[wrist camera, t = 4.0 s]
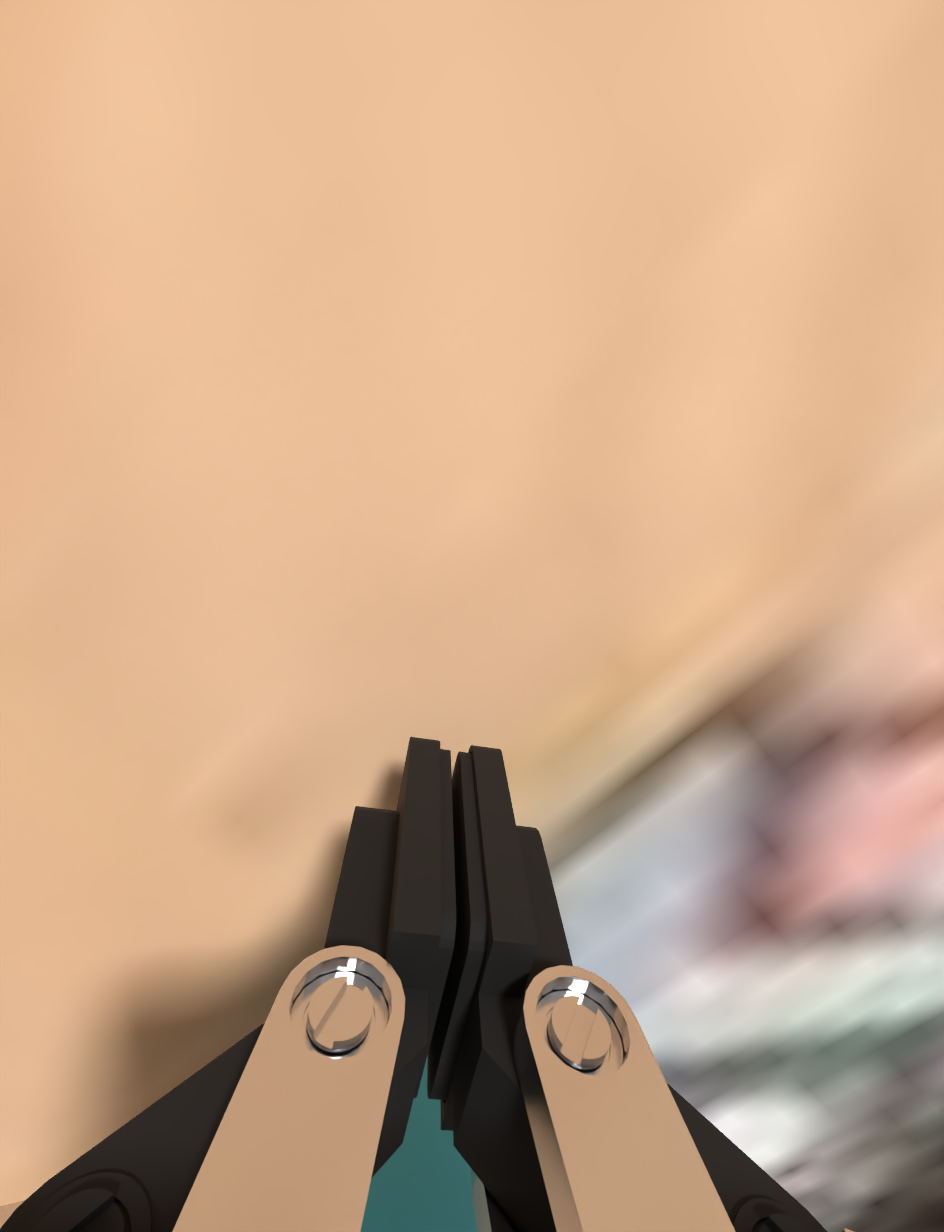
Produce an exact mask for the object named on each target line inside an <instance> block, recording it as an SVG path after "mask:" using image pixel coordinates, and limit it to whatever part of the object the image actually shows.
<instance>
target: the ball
mask: <svg viewBox="0 0 944 1232" xmlns="http://www.w3.org/2000/svg"><path fill="white" fill-rule="evenodd" d="M427 1065H428V1055H427V1059H426V1063H425V1067H424V1071H423V1075H422V1079H421V1083H420V1087H419V1091H418V1095H417V1098H414V1099H413V1103H412V1107H411V1112H410V1116H409V1120H408V1124H407V1128H406V1132H405V1136H404V1140H403V1143H402V1144H401V1146H400V1147H399V1148H398V1149H397V1150H396V1151H395V1152H394V1154H393V1155H392V1156H391V1157H390V1158H389V1159H388V1160H387V1162H386V1163H385V1164H384V1165H383V1166H382V1167H381V1168H380V1169H379V1171H378V1172H377V1173H376V1174H375V1175H374V1176H373V1177H372V1179H371V1182H370V1187H369V1192H368V1197H367V1202H366V1207H365V1211H364V1216H363V1221H362V1226H361V1231H360V1232H478V1231H477V1224H476V1217H475V1211H474V1204H473V1198H472V1186H471V1168H470V1166H469V1165H468V1164H467V1162H466V1161H465V1160H464V1159H463V1157H462V1156H461V1155H460V1153H459V1152H458V1151H457V1149H456V1148H455V1147H454V1146H453V1131H449V1130H441V1100H435V1099H428V1095H427Z"/></svg>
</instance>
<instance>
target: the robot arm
mask: <svg viewBox="0 0 944 1232" xmlns="http://www.w3.org/2000/svg"><path fill="white" fill-rule="evenodd" d="M427 1055H428V1065H427V1095H428V1099H435V1100H441V1130H449V1131H453V1146H454V1147H455V1148H456V1149H457V1151H458V1152H459V1153H460V1155H461V1156H462V1157H463V1159H464V1160H465V1161H466V1162H467V1164H468V1165H469V1166H470V1168H471V1186H472V1198H473V1204H474V1211H475V1217H476V1224H477V1231H478V1232H827V1231H826V1230H825V1229H824V1228H823V1227H822V1225H821V1224H820V1223H819V1222H818V1221H817V1220H816V1219H815V1218H814V1217H813V1216H812V1215H811V1214H810V1213H809V1212H808V1210H807V1209H805V1208H804V1207H803V1206H802V1205H801V1204H800V1203H799V1202H798V1201H797V1200H796V1199H794V1198H793V1197H792V1196H791V1195H790V1194H789V1193H788V1192H787V1191H786V1190H784V1189H783V1188H782V1187H781V1186H780V1185H779V1184H778V1183H777V1182H776V1181H775V1180H773V1179H772V1178H771V1177H770V1176H769V1175H768V1174H767V1173H766V1172H765V1171H764V1170H762V1169H761V1168H760V1167H759V1166H758V1165H757V1164H756V1163H755V1162H754V1161H752V1160H751V1159H750V1158H749V1157H748V1156H747V1155H746V1154H745V1153H744V1152H743V1151H741V1150H740V1149H739V1148H738V1147H737V1146H736V1145H735V1144H734V1143H733V1142H731V1141H730V1140H729V1139H728V1138H727V1137H726V1136H725V1135H724V1134H723V1133H722V1132H720V1131H719V1130H718V1129H717V1128H716V1127H715V1126H714V1125H713V1124H712V1123H710V1122H709V1121H708V1120H707V1119H706V1118H705V1117H704V1116H703V1115H702V1114H701V1113H699V1112H698V1111H697V1110H696V1109H695V1108H694V1107H693V1106H692V1105H691V1104H689V1103H688V1102H687V1101H686V1100H685V1099H684V1098H683V1097H682V1096H681V1095H680V1094H678V1093H677V1092H676V1091H675V1090H674V1089H673V1088H672V1087H671V1086H670V1085H668V1084H667V1083H666V1081H665V1079H664V1077H663V1075H662V1072H661V1070H660V1068H659V1066H658V1064H657V1062H656V1060H655V1057H654V1055H653V1053H652V1051H651V1049H650V1047H649V1044H648V1042H647V1040H646V1038H645V1036H644V1034H643V1032H642V1029H641V1027H640V1025H639V1023H638V1021H637V1019H636V1017H635V1015H634V1013H633V1012H632V1010H631V1009H630V1007H629V1005H628V1004H627V1002H626V1000H625V999H624V998H623V997H622V996H621V995H620V994H619V993H618V992H617V990H616V989H615V988H614V987H613V986H612V985H611V984H609V983H608V982H607V981H605V980H604V979H602V978H601V977H599V976H598V975H596V974H595V973H593V972H590V971H587V970H585V969H582V968H580V967H576V966H573V964H572V960H571V956H570V952H569V948H568V944H567V940H566V936H565V932H564V928H563V924H562V920H561V916H560V912H559V908H558V904H557V900H556V896H555V892H554V888H553V884H552V880H551V876H550V872H549V868H548V864H547V859H546V855H545V851H544V847H543V843H542V839H541V836H540V833H539V831H538V830H537V829H536V828H531V827H523V826H516V824H515V819H514V813H513V808H512V803H511V798H510V793H509V787H508V782H507V777H506V772H505V767H504V761H503V756H502V752H501V750H500V749H495V748H487V747H480V746H473V745H471V746H470V749H469V752H468V753H465V752H459V753H458V755H457V759H456V763H455V768H454V772H453V777H452V779H451V753H450V750H443V749H440V741H437V740H430V739H422V738H415V737H410V741H409V745H408V751H407V756H406V762H405V767H404V773H403V778H402V784H401V789H400V795H399V800H398V805H397V811H391V810H383V809H375V808H367V807H358V806H356V807H355V811H354V815H353V820H352V824H351V829H350V833H349V838H348V842H347V847H346V852H345V856H344V861H343V865H342V870H341V874H340V879H339V883H338V888H337V893H336V897H335V902H334V906H333V911H332V915H331V920H330V925H329V929H328V934H327V938H326V943H325V947H324V949H322V950H320V951H318V952H316V953H314V954H312V955H310V956H309V957H307V958H305V959H304V960H303V961H302V962H301V963H300V964H299V965H297V966H296V967H295V968H294V969H293V970H292V971H291V972H290V974H289V975H288V977H287V979H286V980H285V982H284V983H283V985H282V987H281V988H280V990H279V992H278V995H277V997H276V999H275V1001H274V1004H273V1006H272V1008H271V1011H270V1013H269V1015H268V1017H267V1020H266V1022H265V1023H264V1024H262V1025H261V1026H260V1027H258V1028H257V1029H256V1030H254V1031H253V1032H251V1033H250V1034H249V1035H247V1036H246V1037H245V1038H243V1039H242V1040H240V1041H239V1042H238V1043H236V1044H235V1045H234V1046H232V1047H231V1048H229V1049H228V1050H227V1051H225V1052H224V1053H223V1054H221V1055H220V1056H218V1057H217V1058H216V1059H214V1060H213V1061H212V1062H210V1063H209V1064H207V1065H206V1066H205V1067H203V1068H202V1069H201V1070H199V1071H198V1072H196V1073H195V1074H194V1075H192V1076H191V1077H190V1078H188V1079H187V1080H185V1081H184V1082H183V1083H181V1084H180V1085H179V1086H177V1087H176V1088H174V1089H173V1090H172V1091H170V1092H169V1093H168V1094H166V1095H165V1096H163V1097H162V1098H161V1099H159V1100H158V1101H157V1102H155V1103H154V1104H152V1105H151V1106H150V1107H148V1108H147V1109H146V1110H144V1111H143V1112H141V1113H140V1114H139V1115H137V1116H136V1117H135V1118H133V1119H132V1120H130V1121H129V1122H128V1123H126V1124H125V1125H124V1126H122V1127H121V1128H120V1129H118V1130H117V1131H115V1132H114V1133H113V1134H111V1135H110V1136H109V1137H107V1138H106V1139H104V1140H103V1141H102V1142H100V1143H99V1144H98V1145H96V1146H95V1147H93V1148H92V1149H91V1150H89V1151H88V1152H87V1153H85V1154H84V1155H82V1156H81V1157H80V1158H78V1159H77V1160H76V1161H74V1162H73V1163H71V1164H70V1165H69V1166H67V1167H66V1168H65V1169H63V1170H62V1171H60V1172H59V1173H58V1174H56V1175H55V1176H54V1177H52V1178H51V1179H49V1180H48V1181H47V1182H46V1183H45V1184H43V1185H42V1186H41V1187H40V1188H39V1189H38V1190H37V1191H35V1192H34V1193H33V1194H32V1195H31V1196H30V1197H29V1198H28V1199H26V1200H25V1201H21V1202H17V1203H13V1204H9V1205H4V1206H0V1232H360V1231H361V1226H362V1221H363V1216H364V1211H365V1207H366V1202H367V1197H368V1192H369V1187H370V1182H371V1179H372V1177H373V1176H374V1175H375V1174H376V1173H377V1172H378V1171H379V1169H380V1168H381V1167H382V1166H383V1165H384V1164H385V1163H386V1162H387V1160H388V1159H389V1158H390V1157H391V1156H392V1155H393V1154H394V1152H395V1151H396V1150H397V1149H398V1148H399V1147H400V1146H401V1144H402V1143H403V1140H404V1136H405V1132H406V1128H407V1124H408V1120H409V1116H410V1112H411V1107H412V1103H413V1099H414V1098H417V1095H418V1091H419V1087H420V1083H421V1079H422V1075H423V1071H424V1067H425V1063H426V1059H427ZM842 1232H854V1231H851V1230H848V1229H845V1228H844V1229H843V1231H842Z"/></svg>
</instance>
